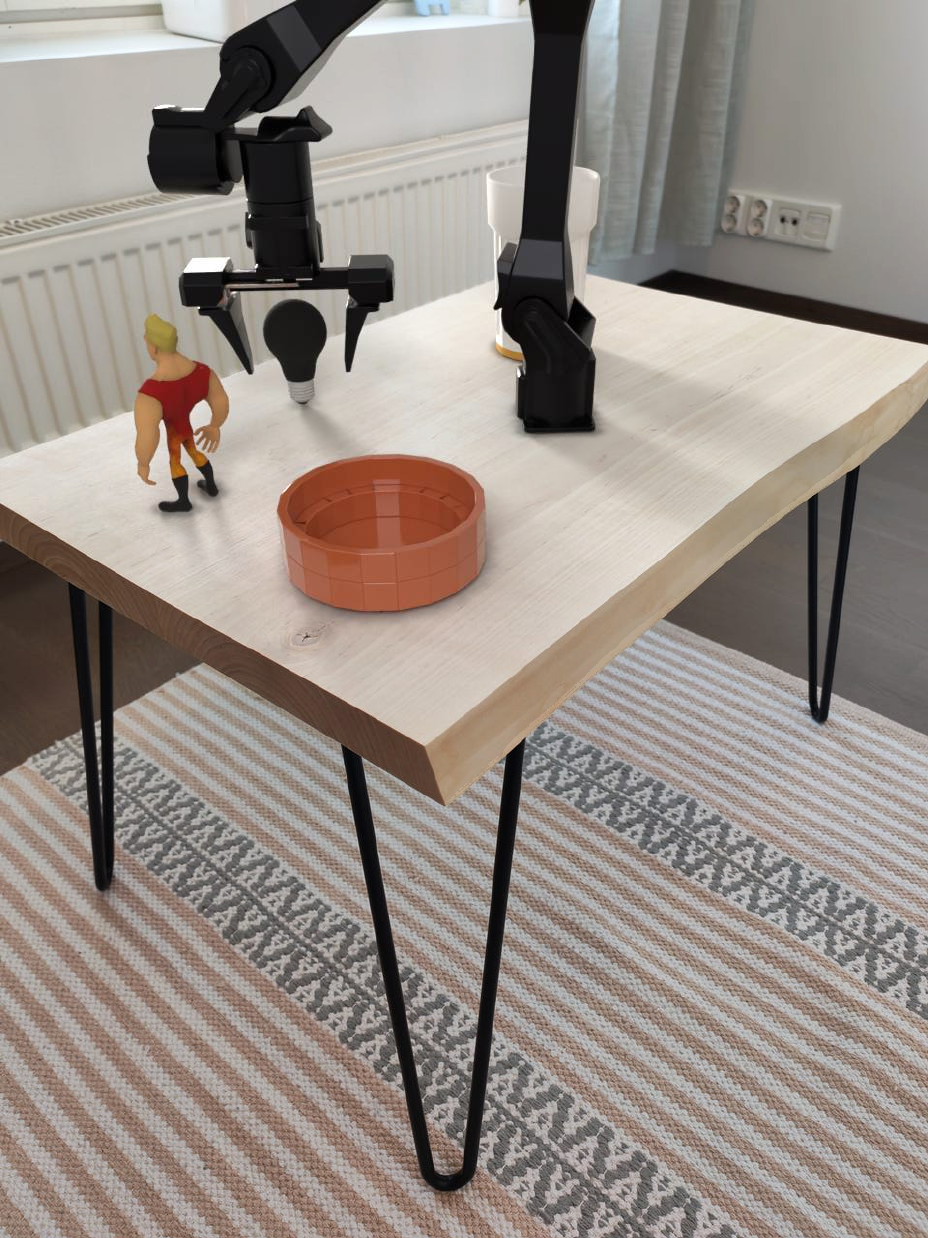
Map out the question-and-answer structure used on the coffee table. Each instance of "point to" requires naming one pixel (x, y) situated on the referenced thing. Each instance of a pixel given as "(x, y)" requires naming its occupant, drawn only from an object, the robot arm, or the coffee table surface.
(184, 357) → the action figure
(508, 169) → the cup
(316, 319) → the light bulb
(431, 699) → the coffee table surface
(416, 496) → the bowl
